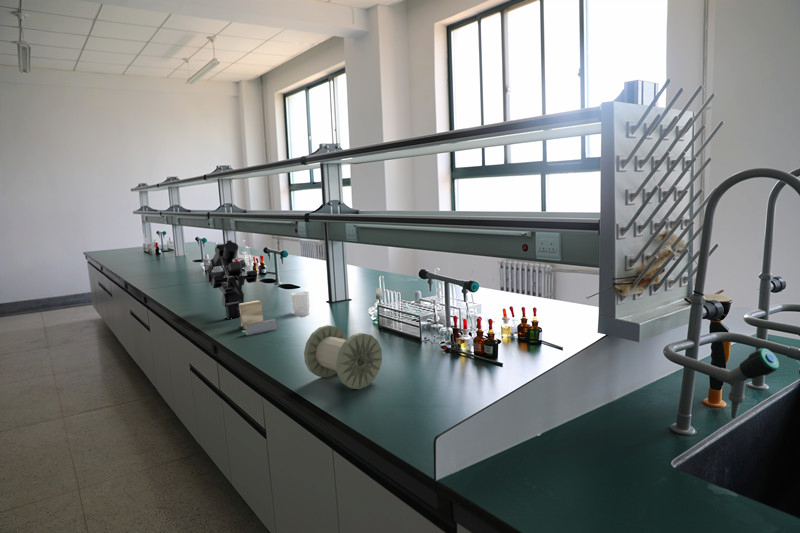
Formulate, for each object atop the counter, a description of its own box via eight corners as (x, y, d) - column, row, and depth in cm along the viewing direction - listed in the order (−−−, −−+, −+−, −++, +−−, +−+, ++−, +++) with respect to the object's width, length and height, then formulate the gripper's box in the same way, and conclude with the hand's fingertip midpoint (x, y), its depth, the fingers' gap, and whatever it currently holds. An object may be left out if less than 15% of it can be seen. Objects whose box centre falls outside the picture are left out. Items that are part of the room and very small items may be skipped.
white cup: (301, 317, 229) (299, 295, 228) (289, 316, 234) (287, 294, 233) (314, 313, 235) (312, 292, 234) (302, 312, 240) (300, 290, 239)
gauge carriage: (237, 328, 213) (234, 304, 212) (260, 323, 218) (258, 300, 217) (240, 330, 210) (237, 305, 208) (263, 325, 215) (261, 301, 214)
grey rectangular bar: (245, 334, 203) (244, 324, 203) (275, 328, 210) (274, 318, 209) (247, 335, 201) (246, 325, 200) (277, 329, 208) (276, 319, 207)
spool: (306, 382, 150) (301, 332, 148) (347, 367, 161) (343, 320, 158) (342, 396, 139) (337, 341, 136) (383, 379, 149) (379, 328, 147)
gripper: (210, 257, 220) (220, 286, 213) (253, 252, 230) (264, 279, 223) (208, 273, 228) (217, 302, 221) (250, 267, 238) (260, 294, 231)
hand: (240, 294), depth 223 cm, fingers closed
